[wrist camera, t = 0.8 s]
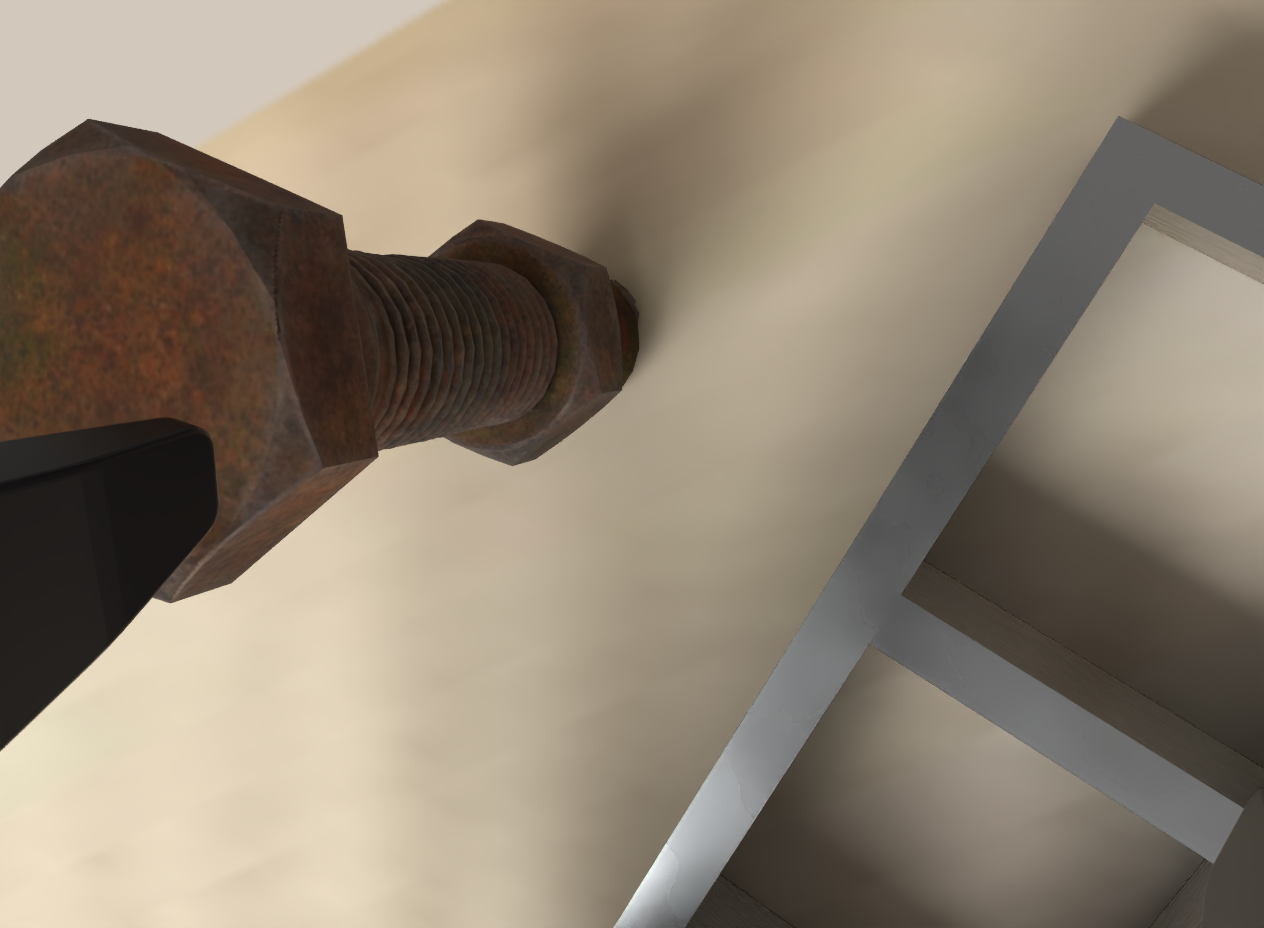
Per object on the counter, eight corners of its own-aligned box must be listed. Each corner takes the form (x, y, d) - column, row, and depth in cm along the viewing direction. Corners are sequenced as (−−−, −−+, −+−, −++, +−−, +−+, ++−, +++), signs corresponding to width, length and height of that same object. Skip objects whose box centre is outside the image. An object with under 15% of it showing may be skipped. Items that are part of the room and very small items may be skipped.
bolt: (458, 385, 28) (-112, 458, 14) (523, 196, 27) (-33, 70, 13) (657, 481, 26) (239, 670, 12) (735, 285, 25) (370, 253, 11)
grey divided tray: (1044, 1155, 25) (1046, 1278, 22) (653, 869, 28) (604, 943, 25) (1666, 420, 20) (1794, 442, 16) (1105, 144, 22) (1118, 115, 19)
